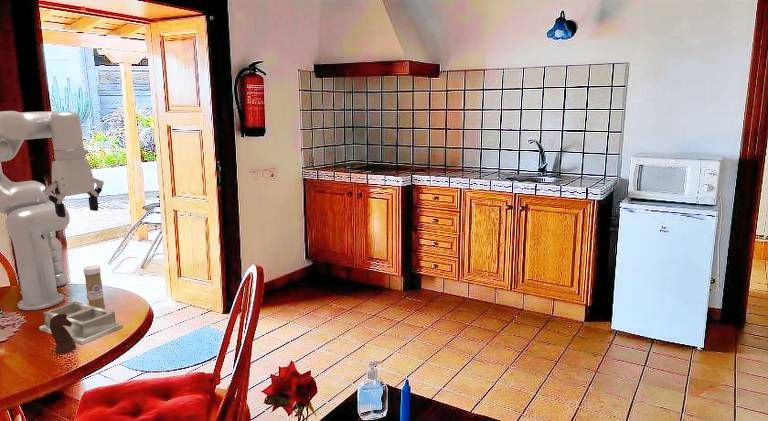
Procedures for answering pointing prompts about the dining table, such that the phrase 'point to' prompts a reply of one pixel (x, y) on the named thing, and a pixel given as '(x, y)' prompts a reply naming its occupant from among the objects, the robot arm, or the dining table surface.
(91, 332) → the slot rack
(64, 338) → the chess piece
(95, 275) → the sprinkles bottle
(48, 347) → the dining table surface
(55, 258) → the plastic bottle
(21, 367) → the dining table surface
